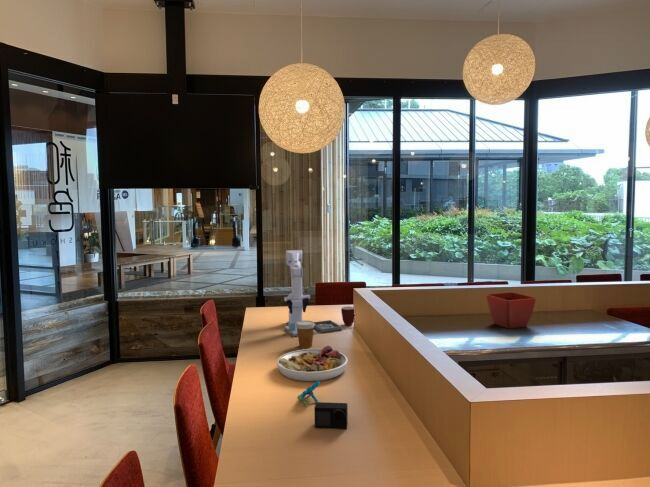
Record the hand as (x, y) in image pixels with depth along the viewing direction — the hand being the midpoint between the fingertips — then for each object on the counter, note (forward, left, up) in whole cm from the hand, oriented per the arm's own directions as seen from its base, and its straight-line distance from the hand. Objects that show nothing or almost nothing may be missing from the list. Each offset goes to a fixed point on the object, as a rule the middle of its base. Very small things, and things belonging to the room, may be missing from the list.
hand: (297, 312), depth 266 cm
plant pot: (+42, +112, -11) cm, 120 cm away
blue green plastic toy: (+90, -27, -11) cm, 94 cm away
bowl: (+61, -15, -11) cm, 64 cm away
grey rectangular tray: (+2, +16, -10) cm, 19 cm away
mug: (+2, +31, -11) cm, 33 cm away
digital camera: (+111, -28, -11) cm, 115 cm away
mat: (+2, +1, -10) cm, 11 cm away
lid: (+2, 0, -10) cm, 10 cm away
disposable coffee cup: (+28, -6, -11) cm, 30 cm away
